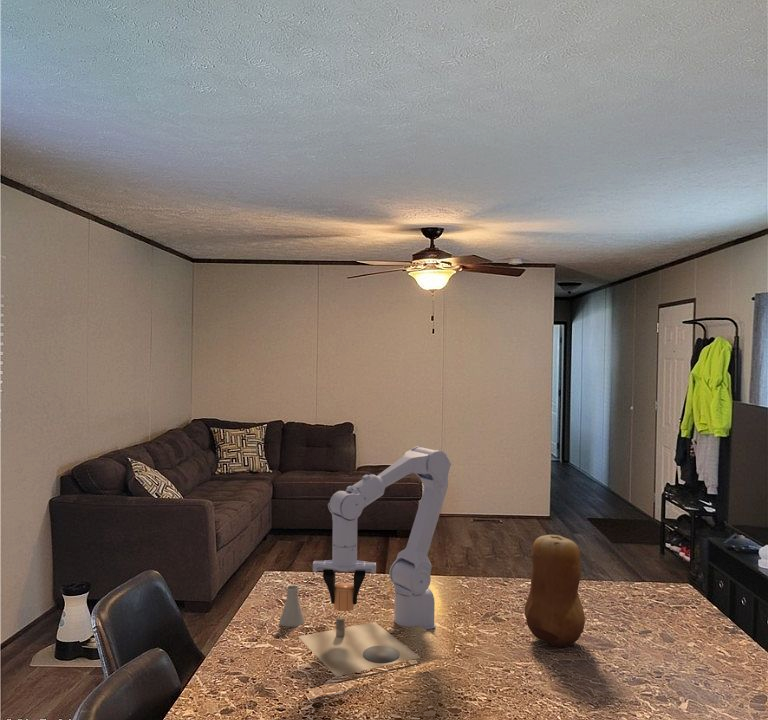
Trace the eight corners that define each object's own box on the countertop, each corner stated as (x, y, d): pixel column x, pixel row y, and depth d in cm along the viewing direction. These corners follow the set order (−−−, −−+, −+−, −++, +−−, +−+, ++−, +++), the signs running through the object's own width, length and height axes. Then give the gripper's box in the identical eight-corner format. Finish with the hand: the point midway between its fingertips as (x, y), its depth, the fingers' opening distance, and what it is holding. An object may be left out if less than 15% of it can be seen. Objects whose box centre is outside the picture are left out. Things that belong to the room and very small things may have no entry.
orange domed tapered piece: (354, 604, 167) (354, 583, 167) (352, 611, 163) (353, 589, 163) (335, 603, 167) (335, 582, 167) (333, 610, 163) (333, 589, 163)
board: (374, 627, 175) (374, 605, 175) (420, 664, 155) (420, 639, 155) (297, 642, 165) (297, 619, 165) (336, 683, 146) (336, 657, 146)
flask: (301, 635, 170) (302, 593, 170) (272, 632, 171) (273, 590, 171) (310, 623, 177) (311, 583, 177) (282, 620, 178) (283, 581, 178)
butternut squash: (588, 637, 171) (590, 533, 170) (579, 660, 158) (581, 548, 158) (531, 627, 176) (533, 526, 176) (517, 648, 164) (519, 540, 164)
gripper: (311, 548, 161) (310, 607, 161) (375, 549, 160) (374, 609, 161) (315, 539, 168) (314, 596, 168) (376, 541, 167) (376, 598, 168)
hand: (344, 602), depth 165 cm, fingers closed on orange domed tapered piece, 4 cm apart
